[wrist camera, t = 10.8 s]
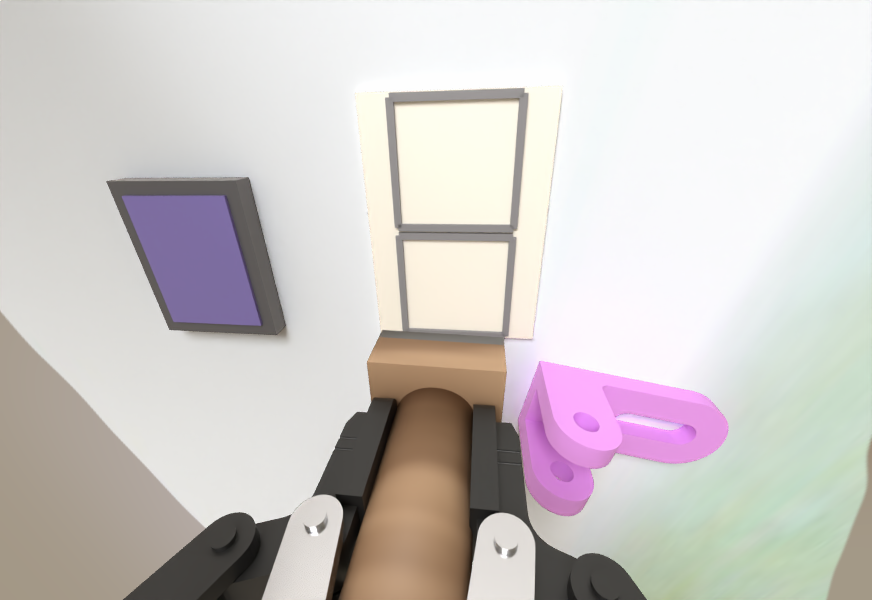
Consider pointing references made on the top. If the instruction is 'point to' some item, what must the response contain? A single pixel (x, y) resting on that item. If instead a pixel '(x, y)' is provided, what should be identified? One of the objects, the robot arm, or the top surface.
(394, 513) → the stamp
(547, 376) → the bracket
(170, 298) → the ink pad
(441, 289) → the sheet
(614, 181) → the top surface
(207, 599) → the robot arm
